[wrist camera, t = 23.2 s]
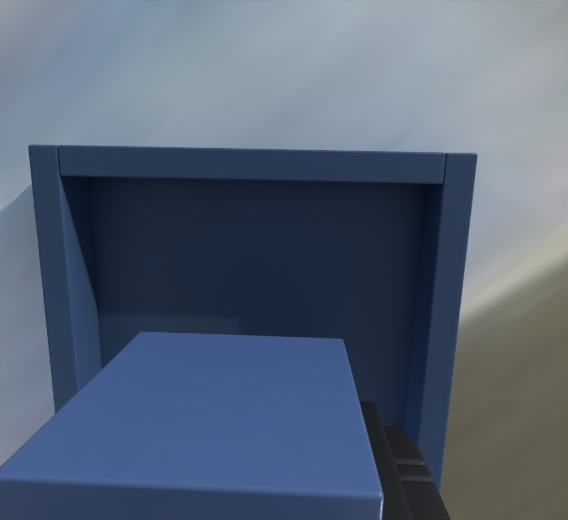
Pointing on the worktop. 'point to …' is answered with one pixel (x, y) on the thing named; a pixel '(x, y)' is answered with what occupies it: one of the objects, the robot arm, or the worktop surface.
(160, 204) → the blue tray
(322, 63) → the worktop surface
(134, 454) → the blue block
